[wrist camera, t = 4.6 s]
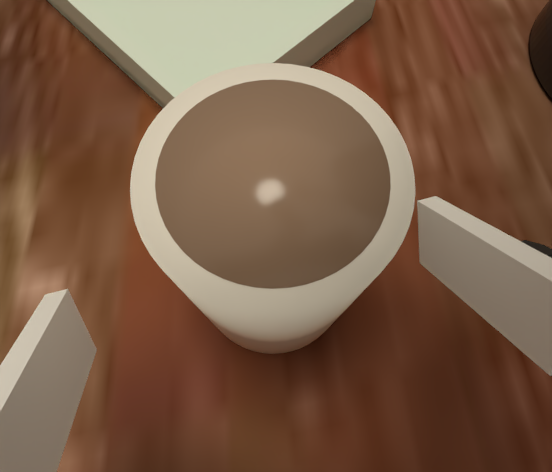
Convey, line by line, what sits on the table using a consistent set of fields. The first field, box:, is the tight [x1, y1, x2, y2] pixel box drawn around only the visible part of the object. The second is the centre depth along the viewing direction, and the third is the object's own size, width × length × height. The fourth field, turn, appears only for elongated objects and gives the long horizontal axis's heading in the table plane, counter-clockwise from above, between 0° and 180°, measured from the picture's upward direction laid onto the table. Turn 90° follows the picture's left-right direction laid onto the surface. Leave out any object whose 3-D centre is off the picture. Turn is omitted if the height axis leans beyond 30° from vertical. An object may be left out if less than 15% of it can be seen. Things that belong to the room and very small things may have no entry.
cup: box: [130, 63, 415, 354], centre depth 17 cm, size 8×8×12 cm
